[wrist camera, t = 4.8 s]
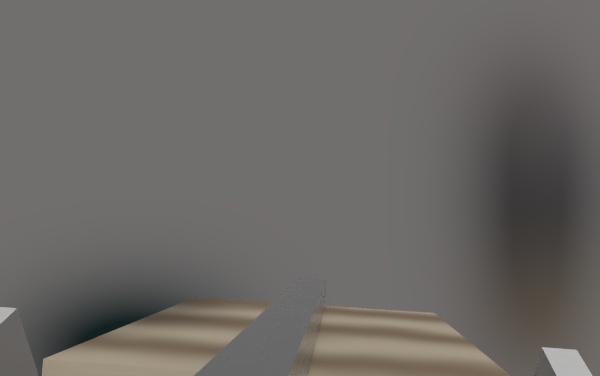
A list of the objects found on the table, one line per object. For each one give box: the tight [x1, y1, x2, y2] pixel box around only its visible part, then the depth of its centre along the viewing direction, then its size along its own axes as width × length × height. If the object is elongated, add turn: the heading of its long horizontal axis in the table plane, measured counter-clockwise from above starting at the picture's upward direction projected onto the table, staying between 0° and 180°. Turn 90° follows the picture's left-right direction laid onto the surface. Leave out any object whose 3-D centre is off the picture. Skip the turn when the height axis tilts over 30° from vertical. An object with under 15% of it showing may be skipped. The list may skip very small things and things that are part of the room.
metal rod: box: [194, 279, 326, 376], centre depth 20 cm, size 26×2×2 cm, turn 175°
